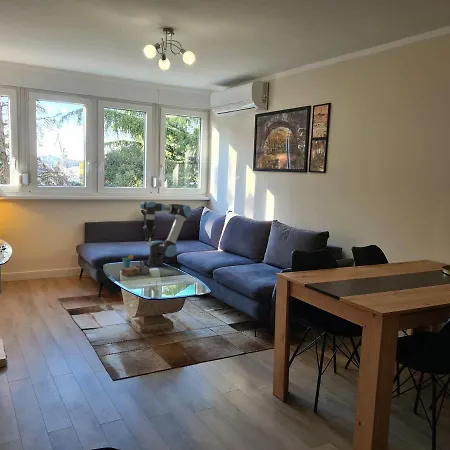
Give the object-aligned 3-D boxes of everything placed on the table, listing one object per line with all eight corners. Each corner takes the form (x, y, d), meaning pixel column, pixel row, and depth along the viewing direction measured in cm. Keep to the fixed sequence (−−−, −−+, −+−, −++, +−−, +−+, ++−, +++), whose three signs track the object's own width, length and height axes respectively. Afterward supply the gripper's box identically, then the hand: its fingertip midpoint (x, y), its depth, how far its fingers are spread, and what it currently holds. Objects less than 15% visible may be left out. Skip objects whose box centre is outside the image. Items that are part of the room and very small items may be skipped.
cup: (118, 271, 392) (118, 254, 390) (116, 269, 399) (117, 252, 397) (134, 270, 398) (134, 254, 396) (131, 268, 405) (132, 252, 403)
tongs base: (146, 271, 397) (146, 265, 396) (149, 272, 393) (149, 267, 392) (121, 274, 382) (121, 268, 382) (124, 275, 378) (124, 269, 377)
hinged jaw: (142, 272, 390) (142, 267, 389) (144, 273, 387) (144, 268, 387) (123, 275, 379) (124, 269, 378) (125, 275, 376) (125, 270, 376)
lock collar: (141, 270, 396) (142, 260, 395) (147, 273, 388) (148, 262, 387) (135, 271, 392) (136, 260, 391) (141, 274, 384) (141, 263, 383)
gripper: (154, 218, 397) (153, 243, 400) (141, 218, 389) (140, 244, 392) (158, 219, 391) (157, 245, 394) (145, 219, 383) (144, 246, 386)
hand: (149, 245), depth 393 cm, fingers closed
